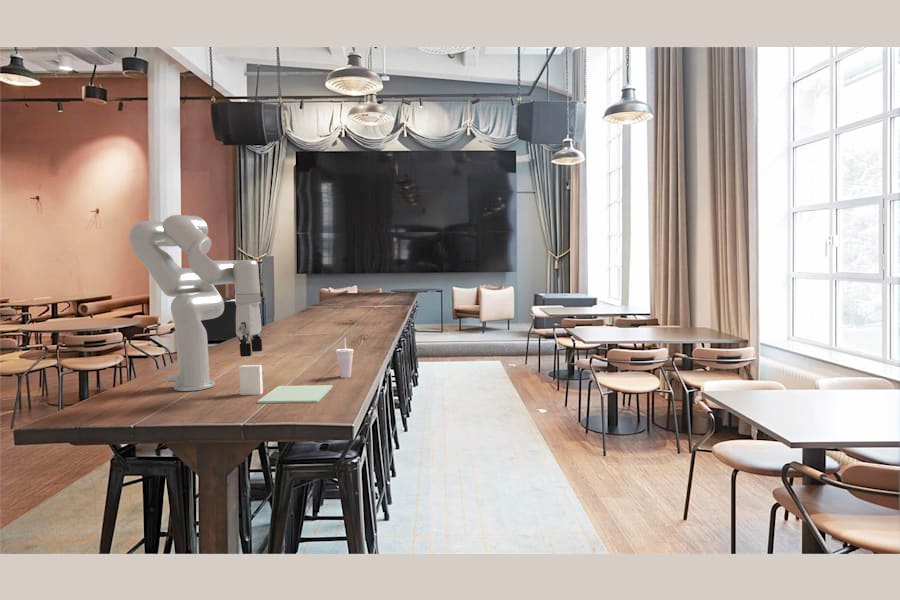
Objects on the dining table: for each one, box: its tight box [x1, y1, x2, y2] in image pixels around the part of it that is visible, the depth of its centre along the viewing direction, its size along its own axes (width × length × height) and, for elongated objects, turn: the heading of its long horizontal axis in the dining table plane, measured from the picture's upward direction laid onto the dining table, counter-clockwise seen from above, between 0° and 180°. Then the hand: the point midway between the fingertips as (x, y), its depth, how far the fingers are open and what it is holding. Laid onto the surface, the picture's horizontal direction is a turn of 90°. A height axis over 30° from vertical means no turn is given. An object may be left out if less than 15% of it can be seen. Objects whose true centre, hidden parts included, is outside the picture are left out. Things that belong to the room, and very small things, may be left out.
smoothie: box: [335, 337, 354, 379], centre depth 207 cm, size 6×6×14 cm
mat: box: [256, 384, 333, 404], centre depth 182 cm, size 18×20×1 cm
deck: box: [238, 364, 264, 396], centre depth 184 cm, size 6×2×9 cm, turn 89°
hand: (251, 353), depth 183 cm, fingers open, 9 cm apart
